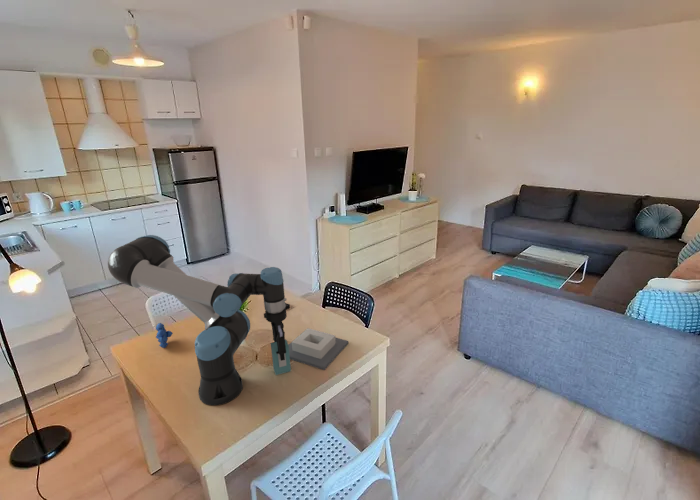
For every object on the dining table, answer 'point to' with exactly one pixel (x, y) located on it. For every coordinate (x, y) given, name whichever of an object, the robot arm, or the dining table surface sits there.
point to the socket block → (316, 348)
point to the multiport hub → (285, 307)
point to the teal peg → (278, 369)
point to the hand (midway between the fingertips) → (281, 362)
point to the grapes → (162, 335)
